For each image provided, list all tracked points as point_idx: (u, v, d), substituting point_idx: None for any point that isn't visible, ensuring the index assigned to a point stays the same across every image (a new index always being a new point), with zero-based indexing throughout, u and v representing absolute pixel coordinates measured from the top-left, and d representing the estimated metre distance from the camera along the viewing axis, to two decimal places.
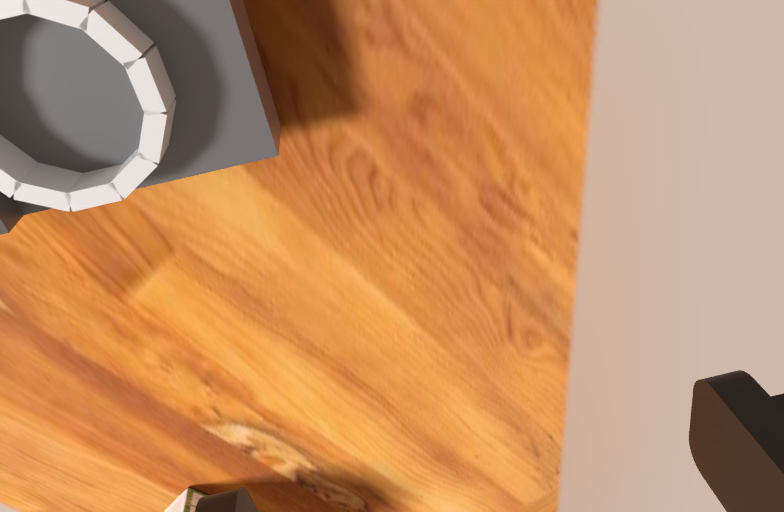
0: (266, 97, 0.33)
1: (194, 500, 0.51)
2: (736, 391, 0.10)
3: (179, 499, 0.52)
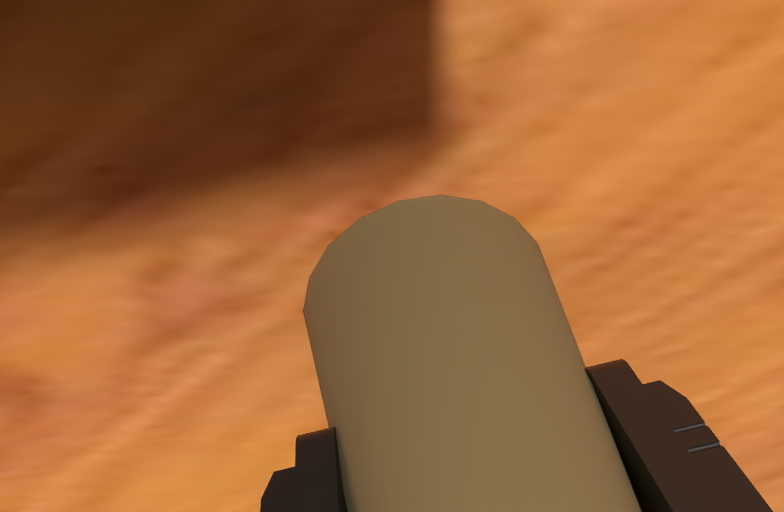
0: None
1: None
2: (612, 378, 0.10)
3: None
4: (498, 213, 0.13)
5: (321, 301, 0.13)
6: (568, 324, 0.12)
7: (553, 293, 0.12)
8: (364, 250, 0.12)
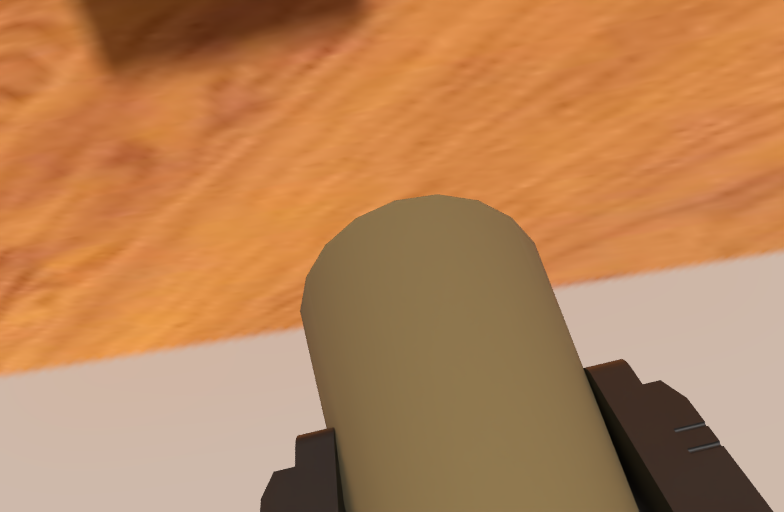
0: None
1: None
2: (612, 378, 0.10)
3: None
4: (495, 212, 0.13)
5: (318, 301, 0.13)
6: (565, 323, 0.12)
7: (550, 292, 0.12)
8: (361, 250, 0.13)
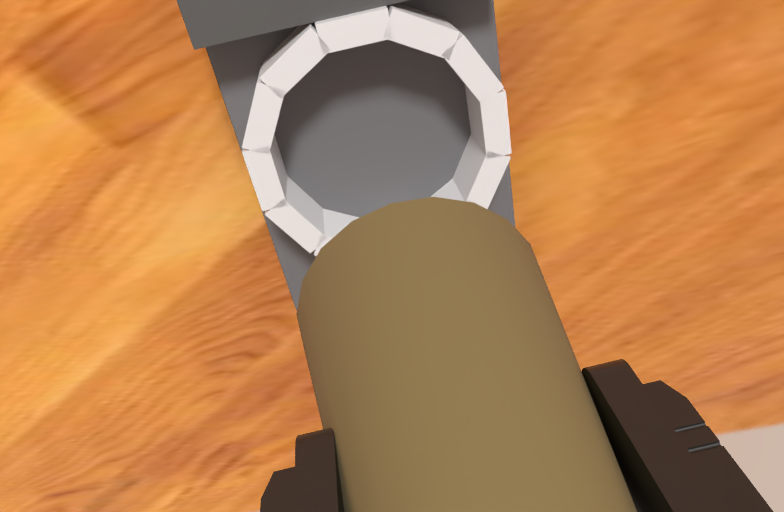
0: None
1: None
2: (612, 378, 0.10)
3: None
4: (490, 214, 0.13)
5: (314, 304, 0.13)
6: (561, 324, 0.12)
7: (546, 294, 0.12)
8: (357, 252, 0.12)
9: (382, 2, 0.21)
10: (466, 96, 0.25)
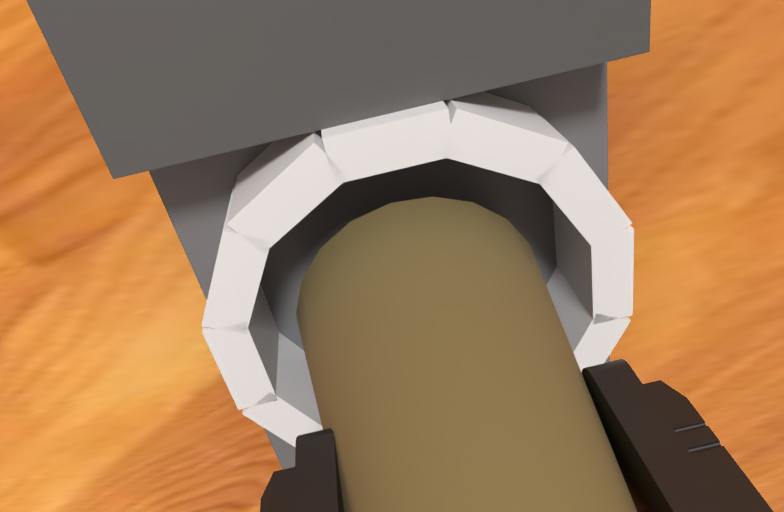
0: None
1: None
2: (612, 378, 0.10)
3: None
4: (490, 214, 0.13)
5: (313, 304, 0.13)
6: (561, 324, 0.12)
7: (545, 293, 0.12)
8: (357, 252, 0.12)
9: (437, 95, 0.12)
10: (554, 216, 0.16)
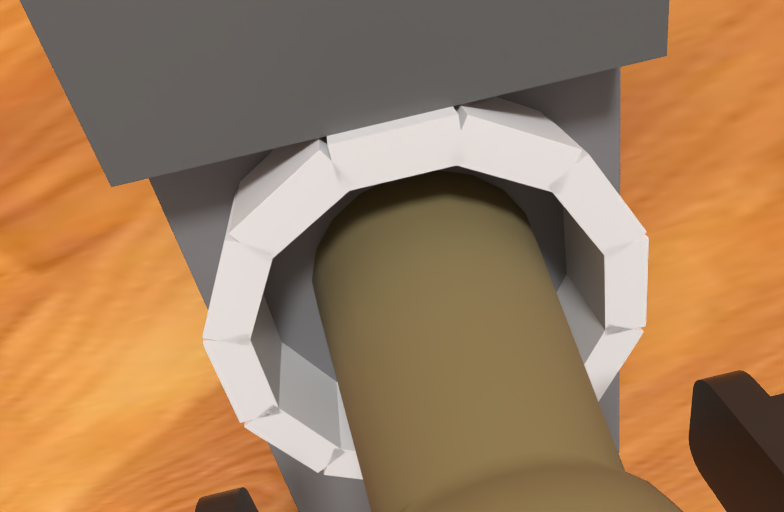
0: None
1: None
2: (736, 391, 0.10)
3: None
4: (487, 185, 0.15)
5: (327, 269, 0.14)
6: (551, 281, 0.13)
7: (538, 255, 0.14)
8: (365, 220, 0.14)
9: (447, 101, 0.12)
10: (564, 224, 0.16)
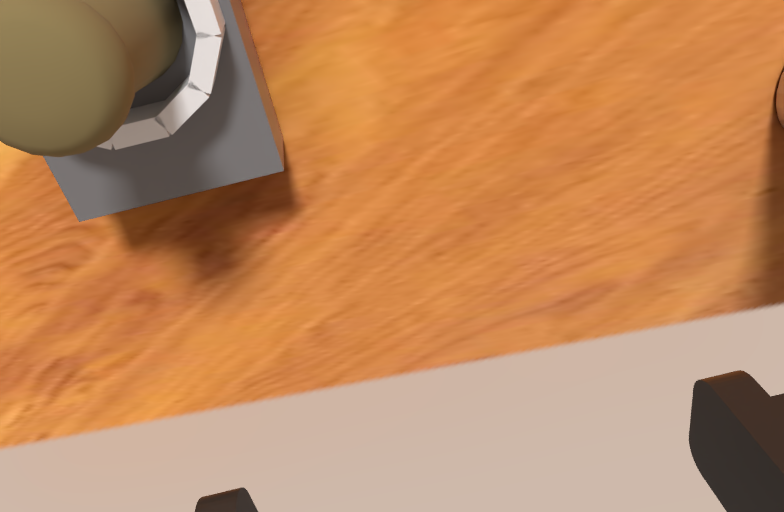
0: None
1: None
2: (736, 391, 0.10)
3: None
4: None
5: None
6: None
7: None
8: None
9: None
10: None
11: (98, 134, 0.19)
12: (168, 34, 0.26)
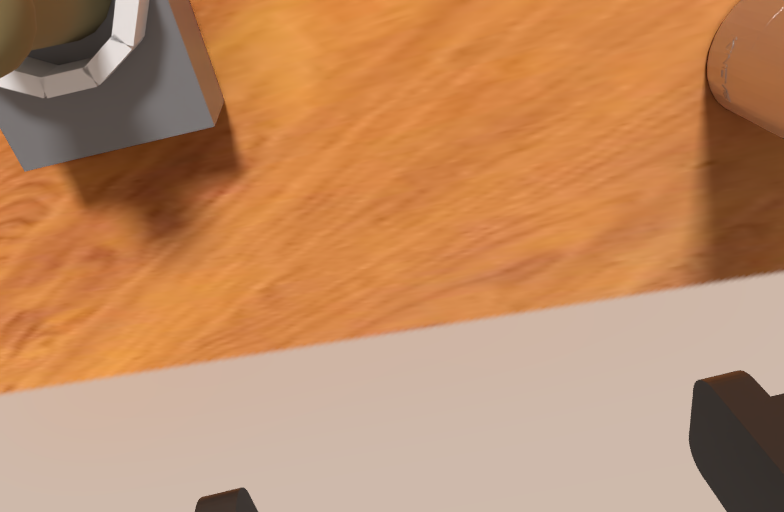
0: None
1: None
2: (736, 391, 0.10)
3: None
4: None
5: None
6: None
7: None
8: None
9: None
10: None
11: None
12: None
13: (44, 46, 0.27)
